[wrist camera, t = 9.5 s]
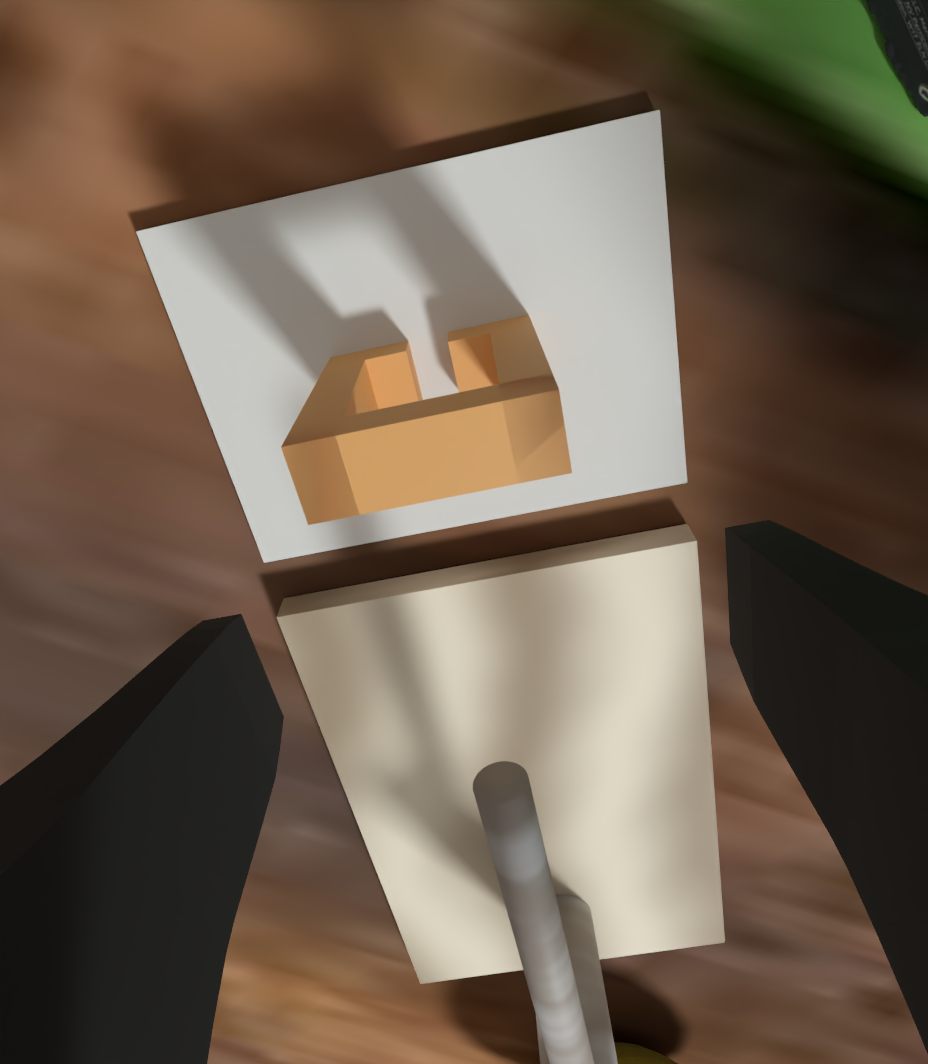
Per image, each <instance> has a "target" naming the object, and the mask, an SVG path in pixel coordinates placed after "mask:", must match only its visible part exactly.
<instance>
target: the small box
mask: <svg viewBox="0 0 928 1064" xmlns="http://www.w3.org/2000/svg"><path fill="white" fill-rule="evenodd" d="M867 1H868V5H869V10H870V11H871V12H872V14H873V15H874V17H875V19H876V21H877V23H878V25H879V28H880V30H881V32H882V34H883V36H884V38H885V48H886V53H887V55H888V56H889V57H890V58H891V61H892V63H893V65H894V67H895V68H896V69H897V71H898V74H899V76H900V78H901V79H902V80H903V82H904V84H905V86H906V88H907V89H908V91H909V92H910V93H911V95H912V97H913V100H914V102H915V104H916V106H917V108H918V110H919V112H920V113H921V114H922V115H923V116H928V0H867Z"/></svg>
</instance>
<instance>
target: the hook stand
mask: <svg viewBox="0 0 928 1064" xmlns="http://www.w3.org/2000/svg"><path fill="white" fill-rule="evenodd" d="M277 620H278V623H279V625H280V628H281V630H282V633H283V635H284V638H285V640H286V643H287V645H288V648H289V651H290V653H291V656H292V658H293V661H294V663H295V666H296V668H297V671H298V673H299V676H300V678H301V681H302V684H303V686H304V689H305V691H306V694H307V696H308V699H309V701H310V704H311V706H312V709H313V712H314V714H315V717H316V719H317V722H318V724H319V727H320V729H321V732H322V734H323V737H324V739H325V742H326V745H327V747H328V750H329V752H330V755H331V757H332V760H333V762H334V765H335V767H336V770H337V773H338V775H339V778H340V780H341V783H342V785H343V788H344V790H345V793H346V795H347V798H348V800H349V803H350V806H351V808H352V811H353V813H354V816H355V818H356V821H357V823H358V826H359V828H360V831H361V833H362V836H363V839H364V841H365V844H366V846H367V849H368V851H369V854H370V856H371V859H372V861H373V864H374V867H375V869H376V872H377V874H378V877H379V879H380V882H381V884H382V887H383V889H384V892H385V894H386V897H387V900H388V902H389V905H390V907H391V910H392V912H393V915H394V917H395V920H396V922H397V925H398V928H399V930H400V933H401V935H402V938H403V940H404V943H405V945H406V948H407V950H408V953H409V955H410V958H411V961H412V963H413V966H414V968H415V971H416V973H417V976H418V978H419V981H420V983H421V984H424V983H431V982H438V981H446V980H453V979H460V978H468V977H475V976H482V975H490V974H497V973H504V972H512V971H519V970H524V974H525V977H526V981H527V984H528V988H529V992H530V995H531V999H532V1002H533V1006H534V1009H535V1013H536V1022H537V1033H538V1044H539V1055H540V1064H618V1062H617V1056H616V1051H615V1045H614V1039H613V1034H612V1028H611V1022H610V1016H609V1011H608V1005H607V999H606V994H605V988H604V982H603V976H602V971H601V965H600V959H607V958H614V957H622V956H629V955H636V954H644V953H651V952H658V951H665V950H673V949H680V948H687V947H695V946H702V945H709V944H717V943H724V942H725V937H724V922H723V908H722V894H721V879H720V865H719V851H718V836H717V822H716V808H715V793H714V779H713V765H712V750H711V736H710V722H709V707H708V693H707V678H706V664H705V650H704V635H703V621H702V607H701V592H700V578H699V564H698V549H697V540H696V538H695V537H694V535H693V533H692V532H691V530H690V528H689V527H688V525H687V524H683V525H678V526H672V527H667V528H662V529H656V530H651V531H645V532H640V533H635V534H629V535H624V536H618V537H613V538H608V539H602V540H597V541H591V542H586V543H580V544H575V545H570V546H564V547H559V548H553V549H548V550H543V551H537V552H532V553H526V554H521V555H515V556H510V557H505V558H499V559H494V560H488V561H483V562H478V563H472V564H467V565H461V566H456V567H450V568H445V569H440V570H434V571H429V572H423V573H418V574H413V575H407V576H402V577H396V578H391V579H385V580H380V581H375V582H369V583H364V584H358V585H353V586H348V587H342V588H337V589H331V590H326V591H320V592H315V593H310V594H304V595H299V596H293V597H288V598H283V601H282V604H281V606H280V609H279V612H278V615H277Z"/></svg>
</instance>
